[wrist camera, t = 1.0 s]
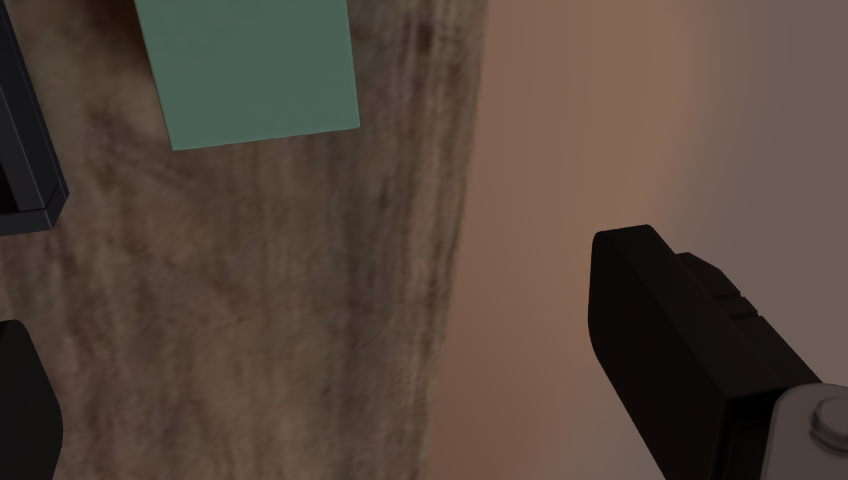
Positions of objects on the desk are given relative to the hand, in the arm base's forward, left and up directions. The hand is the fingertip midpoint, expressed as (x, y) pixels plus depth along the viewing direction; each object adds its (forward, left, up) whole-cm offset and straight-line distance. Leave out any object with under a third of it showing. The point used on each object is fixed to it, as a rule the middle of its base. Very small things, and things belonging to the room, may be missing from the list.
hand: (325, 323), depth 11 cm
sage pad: (-2, -1, -16) cm, 17 cm away
